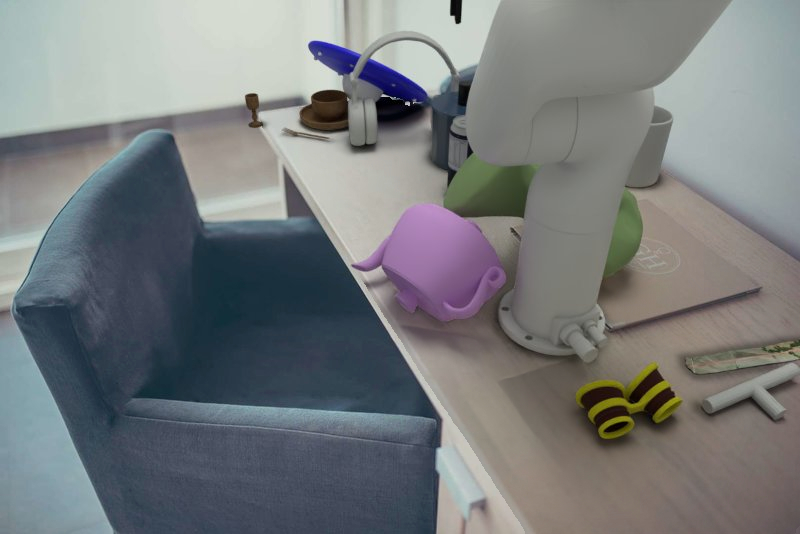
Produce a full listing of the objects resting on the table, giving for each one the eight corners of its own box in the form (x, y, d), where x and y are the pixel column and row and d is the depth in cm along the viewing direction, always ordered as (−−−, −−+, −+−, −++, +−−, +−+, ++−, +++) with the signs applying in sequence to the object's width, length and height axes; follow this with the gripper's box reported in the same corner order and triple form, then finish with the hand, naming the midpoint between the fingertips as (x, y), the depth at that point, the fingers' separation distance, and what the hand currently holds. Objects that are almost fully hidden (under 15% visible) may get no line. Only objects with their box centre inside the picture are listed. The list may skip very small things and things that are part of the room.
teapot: (502, 222, 67) (429, 306, 65) (538, 292, 76) (475, 368, 74) (385, 171, 81) (322, 239, 78) (428, 235, 90) (373, 297, 88)
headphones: (351, 154, 113) (346, 43, 102) (348, 134, 120) (343, 28, 109) (462, 148, 115) (469, 38, 104) (453, 128, 122) (459, 24, 111)
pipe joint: (699, 405, 67) (731, 439, 64) (704, 396, 66) (737, 431, 63) (786, 368, 70) (820, 400, 67) (791, 360, 69) (826, 391, 66)
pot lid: (509, 117, 105) (511, 90, 102) (447, 127, 102) (449, 99, 99) (478, 93, 113) (480, 68, 110) (420, 102, 110) (421, 76, 107)
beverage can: (480, 202, 100) (486, 130, 93) (444, 198, 101) (447, 127, 94) (483, 184, 105) (490, 115, 98) (449, 181, 106) (453, 112, 99)
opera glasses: (596, 450, 63) (612, 424, 60) (568, 405, 67) (581, 378, 63) (675, 422, 66) (694, 395, 63) (644, 380, 70) (661, 353, 66)
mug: (639, 161, 112) (654, 100, 105) (667, 184, 105) (685, 121, 99) (576, 169, 109) (588, 107, 103) (601, 193, 103) (615, 129, 96)
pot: (501, 165, 110) (506, 113, 105) (446, 176, 107) (449, 123, 102) (473, 141, 118) (477, 91, 112) (421, 150, 115) (423, 99, 109)
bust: (450, 144, 87) (584, 239, 94) (429, 222, 77) (581, 321, 84) (521, 75, 77) (664, 187, 84) (507, 154, 67) (670, 274, 74)
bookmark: (681, 360, 73) (682, 356, 72) (844, 334, 76) (846, 331, 76) (695, 377, 70) (696, 374, 70) (862, 350, 74) (864, 346, 73)
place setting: (339, 142, 117) (336, 111, 113) (244, 128, 123) (239, 98, 119) (375, 107, 130) (374, 79, 127) (288, 96, 136) (285, 68, 133)
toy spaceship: (288, 36, 127) (275, 70, 128) (350, 43, 108) (334, 83, 108) (384, 89, 142) (371, 119, 143) (452, 103, 123) (438, 137, 124)
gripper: (433, -125, 74) (429, 29, 83) (584, -125, 73) (563, 29, 83) (431, -130, 80) (428, 14, 90) (571, -130, 80) (552, 14, 89)
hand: (493, 21), depth 86 cm, fingers open, 9 cm apart
